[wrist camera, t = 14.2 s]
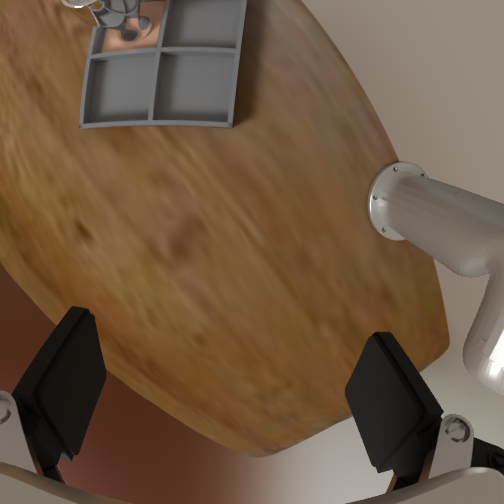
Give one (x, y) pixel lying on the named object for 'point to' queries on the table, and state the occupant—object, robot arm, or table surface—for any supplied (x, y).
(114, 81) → the gray compartment tray
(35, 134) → the table surface
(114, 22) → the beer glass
